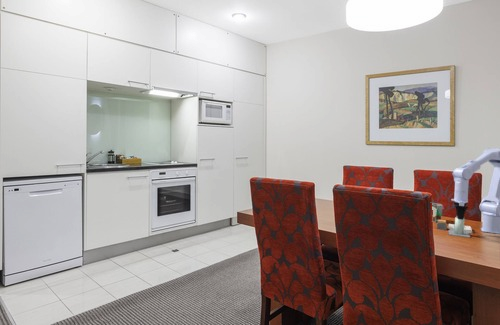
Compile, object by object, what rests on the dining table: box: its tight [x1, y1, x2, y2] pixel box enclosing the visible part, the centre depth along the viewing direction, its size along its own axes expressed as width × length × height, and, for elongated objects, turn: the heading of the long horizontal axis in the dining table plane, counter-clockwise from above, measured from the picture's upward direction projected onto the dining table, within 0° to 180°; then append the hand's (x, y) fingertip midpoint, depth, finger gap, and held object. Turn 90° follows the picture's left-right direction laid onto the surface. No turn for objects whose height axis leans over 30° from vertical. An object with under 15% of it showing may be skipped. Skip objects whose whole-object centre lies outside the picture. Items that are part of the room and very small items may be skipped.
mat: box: [447, 229, 471, 238], centre depth 165 cm, size 9×9×1 cm
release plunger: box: [438, 219, 447, 224], centre depth 176 cm, size 4×4×4 cm
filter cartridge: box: [454, 215, 466, 235], centre depth 165 cm, size 4×4×9 cm
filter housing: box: [436, 222, 473, 234], centre depth 175 cm, size 16×10×3 cm, turn 60°
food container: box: [431, 202, 445, 224], centre depth 194 cm, size 12×6×10 cm, turn 179°
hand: (459, 217), depth 165 cm, fingers open, 7 cm apart
